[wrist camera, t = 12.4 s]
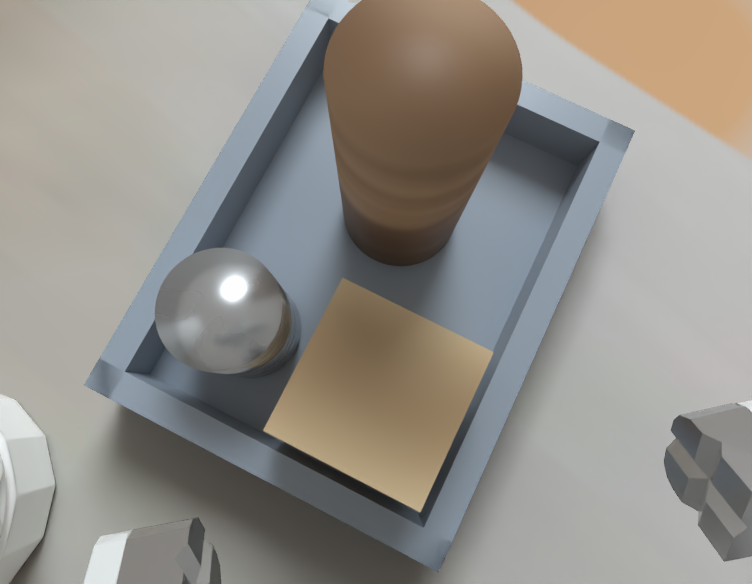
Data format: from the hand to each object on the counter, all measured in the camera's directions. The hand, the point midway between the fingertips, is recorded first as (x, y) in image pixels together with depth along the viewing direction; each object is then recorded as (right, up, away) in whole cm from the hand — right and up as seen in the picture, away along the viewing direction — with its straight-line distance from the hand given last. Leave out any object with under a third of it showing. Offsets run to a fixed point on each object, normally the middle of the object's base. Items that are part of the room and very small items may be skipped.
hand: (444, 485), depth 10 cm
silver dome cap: (-5, +2, +8) cm, 9 cm away
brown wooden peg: (0, +6, +8) cm, 10 cm away
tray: (-1, +4, +9) cm, 10 cm away
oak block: (-1, 0, +7) cm, 8 cm away
